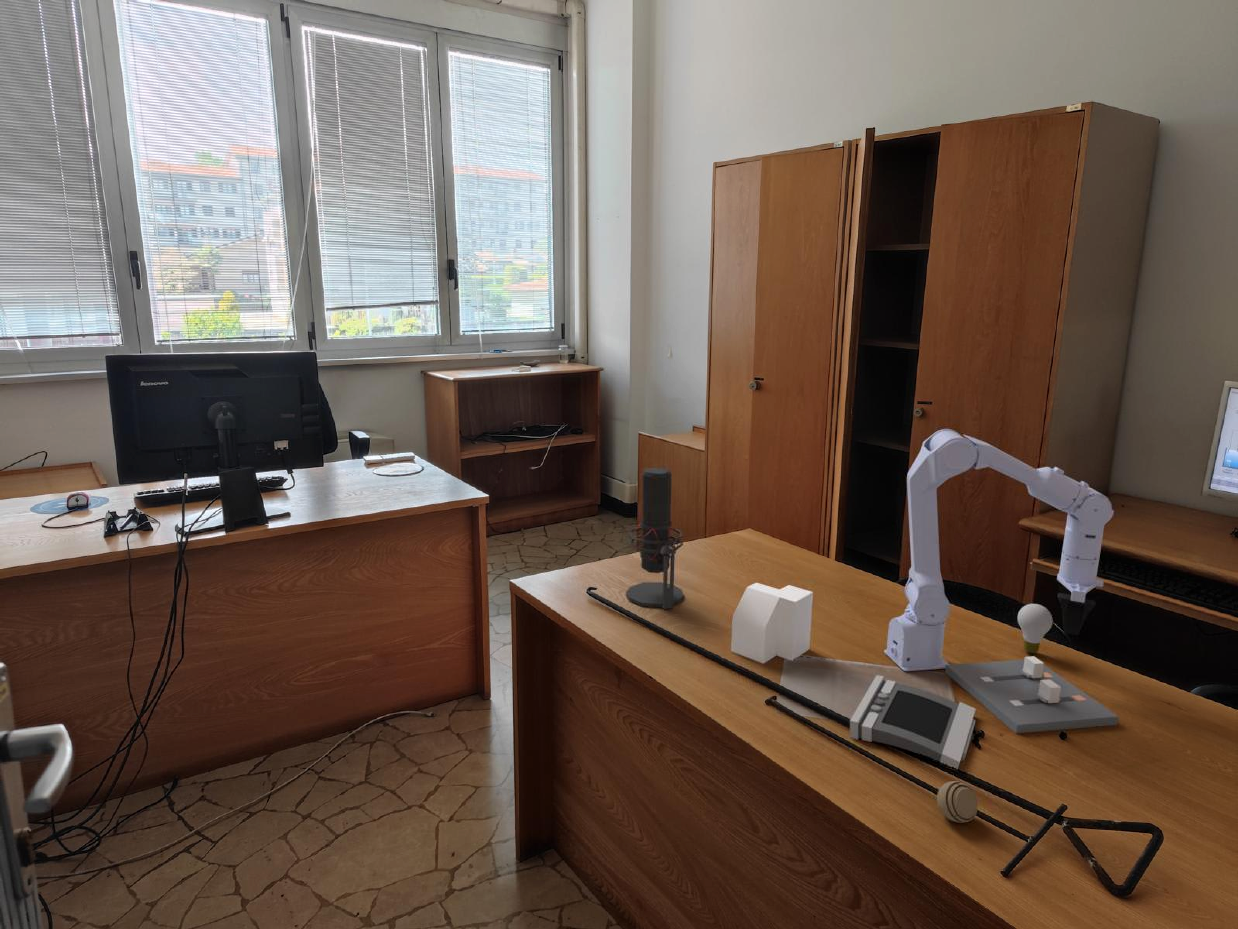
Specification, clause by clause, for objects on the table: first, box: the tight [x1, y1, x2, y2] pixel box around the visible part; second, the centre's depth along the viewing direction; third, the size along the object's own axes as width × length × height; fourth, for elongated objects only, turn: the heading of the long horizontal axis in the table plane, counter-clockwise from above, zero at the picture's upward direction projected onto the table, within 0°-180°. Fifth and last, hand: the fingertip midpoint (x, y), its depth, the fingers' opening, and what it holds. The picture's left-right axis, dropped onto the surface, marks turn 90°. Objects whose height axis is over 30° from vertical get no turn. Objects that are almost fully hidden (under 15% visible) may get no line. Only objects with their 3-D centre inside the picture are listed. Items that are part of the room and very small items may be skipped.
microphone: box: [625, 467, 685, 610], centre depth 169 cm, size 14×13×30 cm
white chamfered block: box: [730, 582, 814, 664], centre depth 145 cm, size 11×11×12 cm
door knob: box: [936, 780, 979, 824], centre depth 99 cm, size 5×5×5 cm
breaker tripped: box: [1036, 679, 1061, 703], centre depth 125 cm, size 3×3×3 cm
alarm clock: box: [849, 674, 977, 770], centre depth 120 cm, size 17×5×16 cm
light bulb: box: [1017, 603, 1053, 655], centre depth 145 cm, size 6×6×10 cm
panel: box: [944, 659, 1119, 734], centre depth 130 cm, size 18×20×2 cm
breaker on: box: [1021, 655, 1045, 678], centre depth 134 cm, size 3×3×3 cm
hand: (1069, 625), depth 137 cm, fingers open, 7 cm apart
